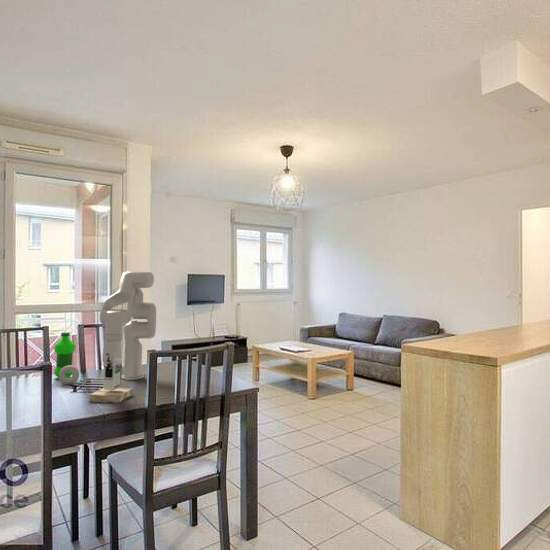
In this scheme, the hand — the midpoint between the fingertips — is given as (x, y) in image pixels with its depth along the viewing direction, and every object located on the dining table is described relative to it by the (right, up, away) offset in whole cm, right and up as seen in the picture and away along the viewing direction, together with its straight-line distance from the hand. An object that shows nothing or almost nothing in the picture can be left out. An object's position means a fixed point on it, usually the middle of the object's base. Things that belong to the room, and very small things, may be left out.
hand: (112, 375), depth 196 cm
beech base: (0, -10, 0) cm, 10 cm away
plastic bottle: (-41, -10, +36) cm, 55 cm away
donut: (-31, -10, +22) cm, 39 cm away
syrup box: (0, -6, 0) cm, 6 cm away
